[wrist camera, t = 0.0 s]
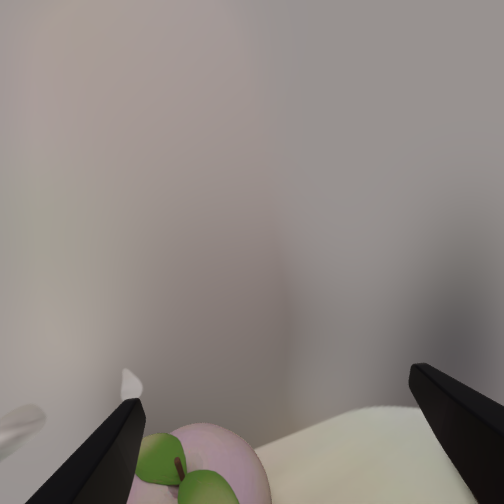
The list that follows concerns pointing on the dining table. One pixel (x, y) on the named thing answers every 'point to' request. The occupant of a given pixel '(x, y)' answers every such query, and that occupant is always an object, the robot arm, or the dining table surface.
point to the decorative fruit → (198, 469)
